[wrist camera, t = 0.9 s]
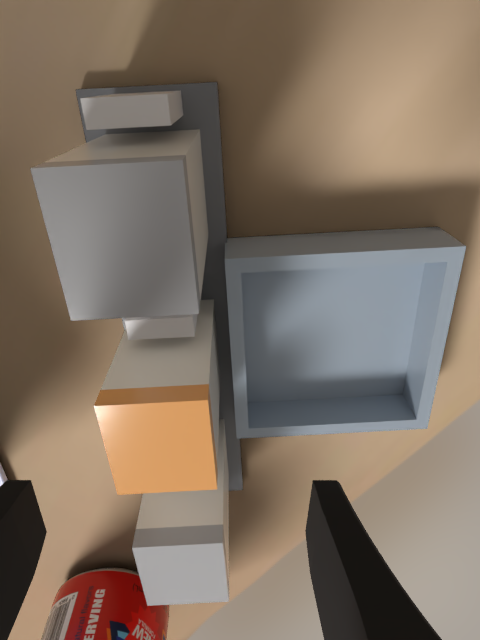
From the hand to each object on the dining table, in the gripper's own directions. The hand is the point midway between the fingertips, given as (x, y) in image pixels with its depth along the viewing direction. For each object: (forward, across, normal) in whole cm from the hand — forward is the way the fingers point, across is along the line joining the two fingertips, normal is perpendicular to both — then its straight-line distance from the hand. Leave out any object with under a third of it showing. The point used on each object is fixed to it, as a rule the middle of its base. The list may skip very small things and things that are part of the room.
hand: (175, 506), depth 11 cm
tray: (+11, -6, +1) cm, 12 cm away
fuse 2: (+10, 0, +8) cm, 13 cm away
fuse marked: (+10, +1, +1) cm, 10 cm away
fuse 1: (+10, +1, -6) cm, 12 cm away
